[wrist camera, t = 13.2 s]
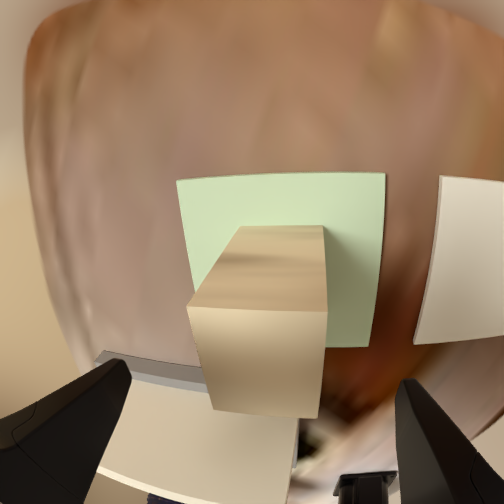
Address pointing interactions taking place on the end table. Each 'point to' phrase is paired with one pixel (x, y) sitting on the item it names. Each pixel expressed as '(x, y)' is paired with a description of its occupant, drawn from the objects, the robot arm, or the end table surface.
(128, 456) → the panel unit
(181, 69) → the end table surface
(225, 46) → the end table surface
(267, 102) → the end table surface
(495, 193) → the cream mat
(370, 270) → the sage mat
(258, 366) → the block
